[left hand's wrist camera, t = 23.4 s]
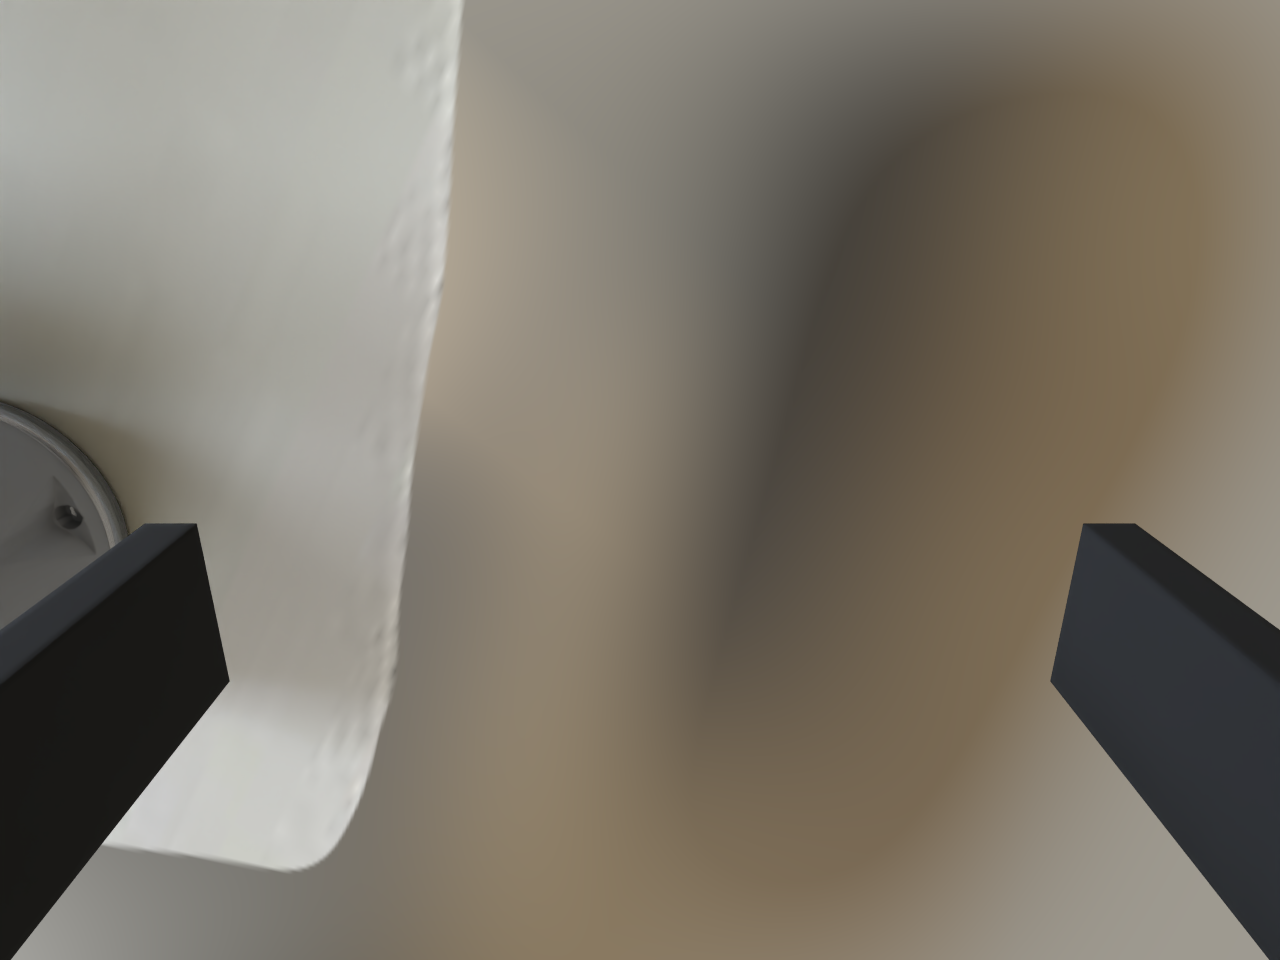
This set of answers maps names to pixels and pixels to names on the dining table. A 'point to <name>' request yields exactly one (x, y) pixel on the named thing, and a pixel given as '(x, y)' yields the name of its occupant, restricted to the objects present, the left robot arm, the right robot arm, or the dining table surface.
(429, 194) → the dining table surface
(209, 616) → the left robot arm
